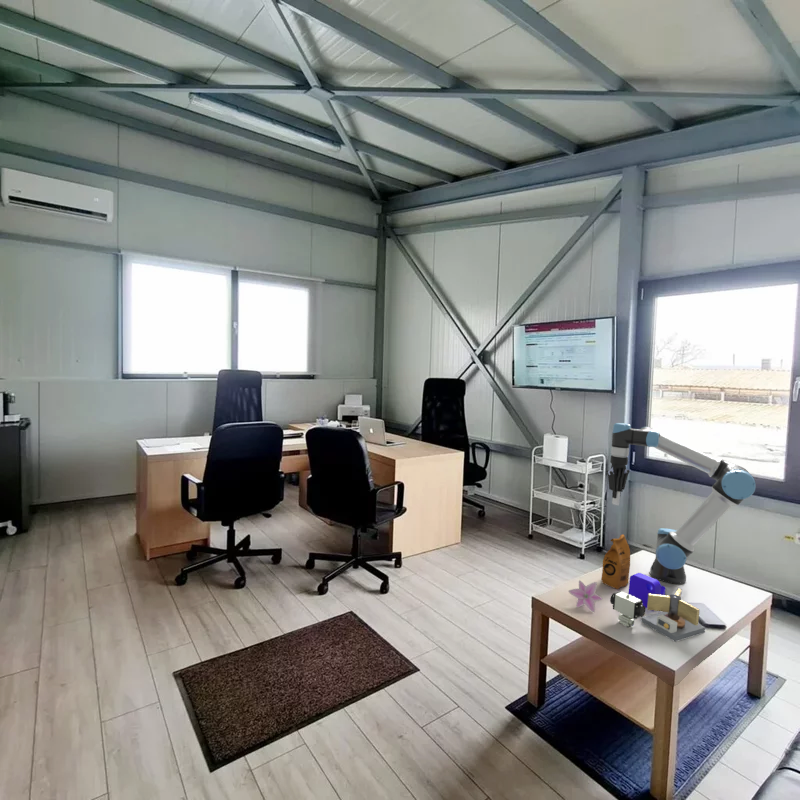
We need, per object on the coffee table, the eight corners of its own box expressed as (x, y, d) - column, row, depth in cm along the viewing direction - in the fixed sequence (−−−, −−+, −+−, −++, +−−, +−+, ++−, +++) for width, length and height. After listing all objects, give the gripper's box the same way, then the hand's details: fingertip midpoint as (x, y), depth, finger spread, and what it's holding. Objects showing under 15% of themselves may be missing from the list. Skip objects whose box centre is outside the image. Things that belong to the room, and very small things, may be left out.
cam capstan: (639, 607, 193) (641, 583, 192) (678, 612, 190) (680, 588, 190) (654, 630, 176) (656, 604, 175) (697, 635, 174) (700, 609, 173)
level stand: (670, 614, 193) (671, 601, 192) (704, 632, 180) (706, 618, 180) (640, 622, 186) (641, 608, 185) (673, 642, 173) (674, 627, 172)
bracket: (653, 611, 195) (655, 583, 194) (627, 600, 204) (630, 573, 203) (674, 600, 205) (677, 574, 204) (649, 590, 214) (652, 564, 213)
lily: (563, 602, 201) (566, 588, 196) (581, 586, 207) (583, 572, 201) (588, 622, 193) (591, 608, 187) (605, 605, 198) (609, 591, 193)
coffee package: (597, 582, 219) (600, 536, 218) (611, 575, 227) (615, 531, 225) (617, 590, 211) (621, 543, 210) (632, 584, 219) (635, 537, 217)
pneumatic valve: (637, 633, 178) (640, 602, 177) (608, 618, 187) (610, 589, 186) (645, 628, 181) (647, 598, 180) (615, 614, 190) (618, 586, 189)
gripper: (622, 453, 230) (618, 501, 232) (603, 454, 225) (599, 503, 227) (635, 456, 224) (631, 505, 225) (616, 458, 218) (612, 508, 220)
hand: (615, 504), depth 226 cm, fingers closed
